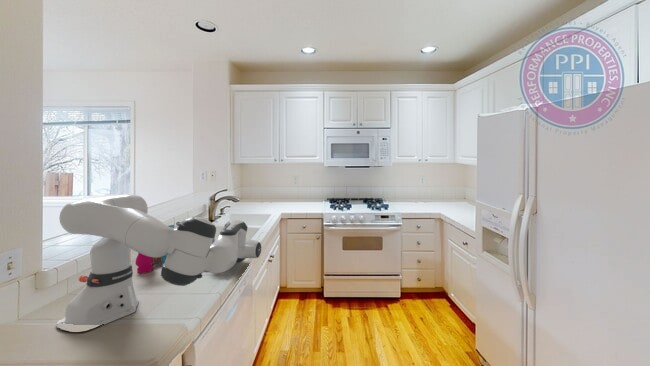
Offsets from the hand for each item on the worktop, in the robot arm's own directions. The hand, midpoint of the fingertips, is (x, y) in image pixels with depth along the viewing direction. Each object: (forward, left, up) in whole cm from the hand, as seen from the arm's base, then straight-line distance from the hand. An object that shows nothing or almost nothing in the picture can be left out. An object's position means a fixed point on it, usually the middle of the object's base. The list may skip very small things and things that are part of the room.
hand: (207, 244), depth 153 cm
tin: (-7, +26, -9) cm, 28 cm away
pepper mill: (-19, +20, -9) cm, 29 cm away
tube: (-9, +17, -9) cm, 21 cm away
